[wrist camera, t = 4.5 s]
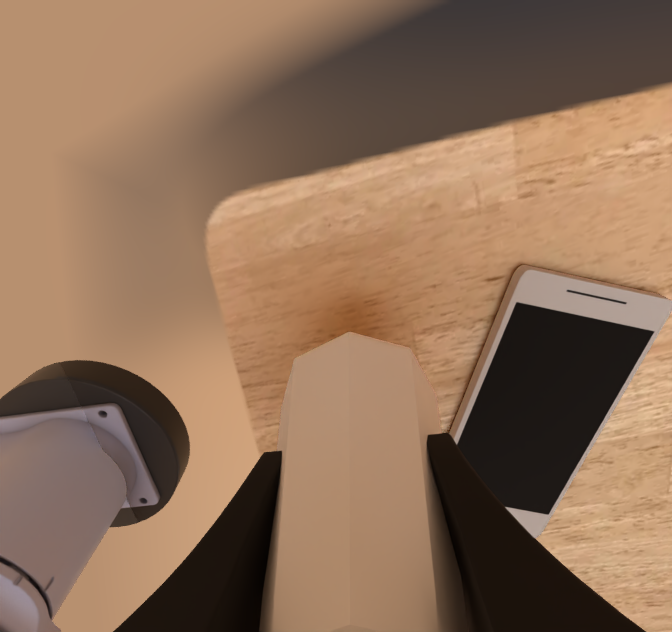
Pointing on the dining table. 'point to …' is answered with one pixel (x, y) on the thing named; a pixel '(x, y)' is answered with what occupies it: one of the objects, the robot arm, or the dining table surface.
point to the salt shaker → (359, 499)
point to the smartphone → (551, 383)
